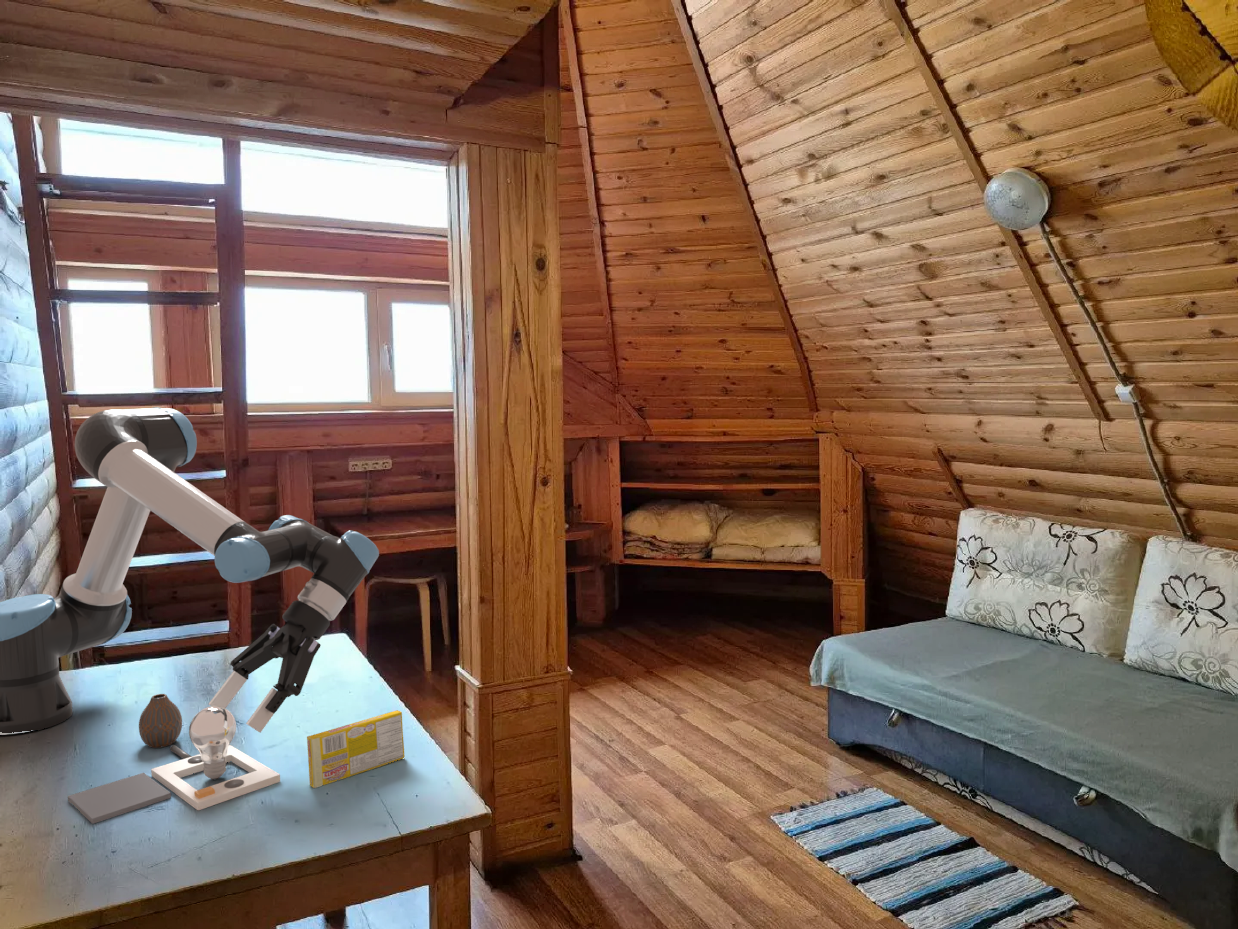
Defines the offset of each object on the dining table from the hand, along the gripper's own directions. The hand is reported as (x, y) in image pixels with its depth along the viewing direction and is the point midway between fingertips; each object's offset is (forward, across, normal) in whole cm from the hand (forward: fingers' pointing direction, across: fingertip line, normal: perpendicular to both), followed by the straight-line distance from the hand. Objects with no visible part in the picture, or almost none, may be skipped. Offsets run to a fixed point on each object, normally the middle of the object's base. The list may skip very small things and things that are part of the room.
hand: (233, 718), depth 146 cm
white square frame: (+9, -4, +4) cm, 11 cm away
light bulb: (+9, 0, +4) cm, 10 cm away
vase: (+9, -22, +4) cm, 24 cm away
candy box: (-3, +15, +16) cm, 22 cm away
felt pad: (+18, -4, -5) cm, 19 cm away
